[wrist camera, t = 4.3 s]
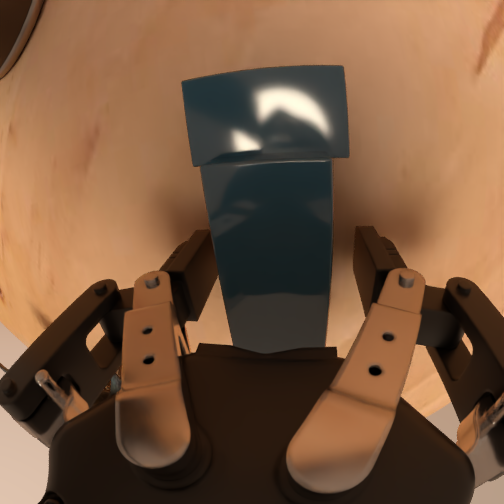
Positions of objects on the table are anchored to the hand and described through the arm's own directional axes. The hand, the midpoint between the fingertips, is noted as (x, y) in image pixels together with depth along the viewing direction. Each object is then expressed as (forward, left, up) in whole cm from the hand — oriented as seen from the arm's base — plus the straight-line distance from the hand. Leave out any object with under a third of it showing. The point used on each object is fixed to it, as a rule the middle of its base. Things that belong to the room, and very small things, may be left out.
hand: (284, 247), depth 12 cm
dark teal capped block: (-1, 0, -1) cm, 1 cm away
